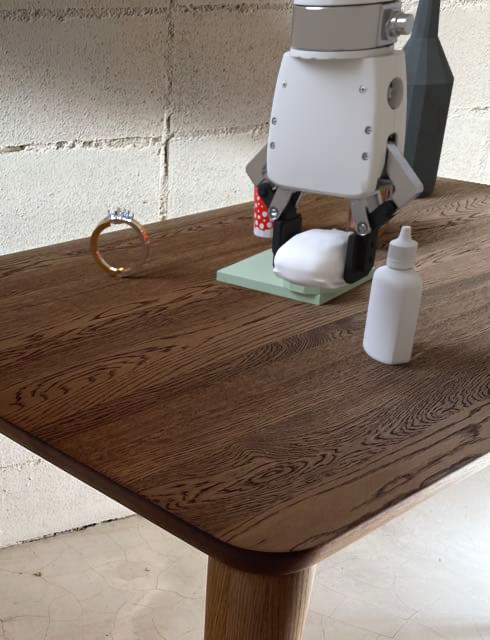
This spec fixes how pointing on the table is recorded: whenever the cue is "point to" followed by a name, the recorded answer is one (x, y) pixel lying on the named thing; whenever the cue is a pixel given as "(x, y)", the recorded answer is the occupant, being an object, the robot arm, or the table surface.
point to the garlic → (313, 258)
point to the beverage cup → (261, 217)
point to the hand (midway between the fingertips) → (320, 269)
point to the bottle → (426, 95)
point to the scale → (278, 280)
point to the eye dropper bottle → (394, 304)
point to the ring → (119, 218)
